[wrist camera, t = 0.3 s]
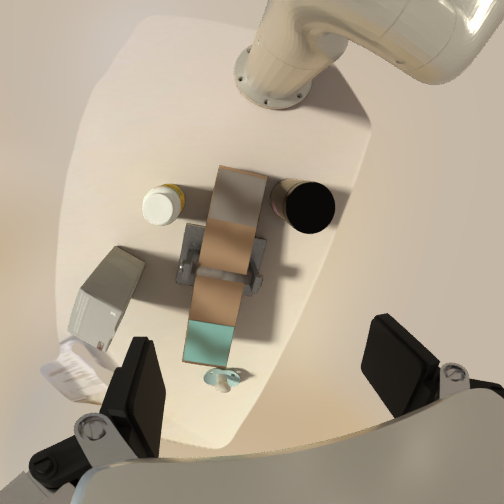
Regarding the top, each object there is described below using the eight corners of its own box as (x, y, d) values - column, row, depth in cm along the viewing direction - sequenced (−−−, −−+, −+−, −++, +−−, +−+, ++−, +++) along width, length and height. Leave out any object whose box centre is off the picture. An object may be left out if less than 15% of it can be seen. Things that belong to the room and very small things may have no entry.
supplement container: (260, 194, 43) (275, 202, 33) (294, 169, 42) (317, 171, 33) (284, 227, 45) (304, 244, 35) (316, 203, 45) (344, 213, 35)
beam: (213, 166, 38) (214, 163, 36) (270, 179, 40) (273, 177, 38) (177, 355, 41) (177, 361, 39) (229, 363, 43) (230, 369, 41)
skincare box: (115, 243, 42) (75, 280, 27) (151, 264, 44) (125, 311, 29) (99, 283, 43) (61, 329, 28) (132, 302, 45) (105, 356, 30)
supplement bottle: (148, 210, 41) (131, 222, 32) (158, 178, 40) (143, 182, 31) (179, 221, 42) (170, 236, 33) (190, 189, 41) (184, 195, 32)
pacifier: (235, 386, 55) (240, 367, 53) (237, 407, 49) (243, 388, 47) (201, 382, 53) (205, 363, 51) (201, 404, 47) (205, 385, 45)
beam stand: (186, 223, 43) (181, 235, 35) (265, 239, 45) (275, 254, 38) (176, 280, 45) (170, 302, 38) (250, 293, 48) (257, 317, 40)
